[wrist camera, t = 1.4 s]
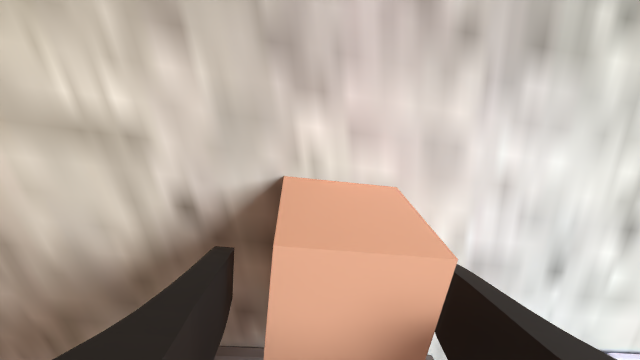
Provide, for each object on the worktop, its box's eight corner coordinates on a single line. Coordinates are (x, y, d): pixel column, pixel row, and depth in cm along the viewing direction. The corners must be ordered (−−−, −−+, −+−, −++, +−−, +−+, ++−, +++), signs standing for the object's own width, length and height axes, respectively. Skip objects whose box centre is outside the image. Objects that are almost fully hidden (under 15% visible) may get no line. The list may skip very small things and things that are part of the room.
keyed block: (396, 186, 12) (457, 259, 7) (371, 297, 14) (408, 412, 9) (284, 175, 12) (273, 245, 7) (273, 291, 13) (258, 410, 9)
